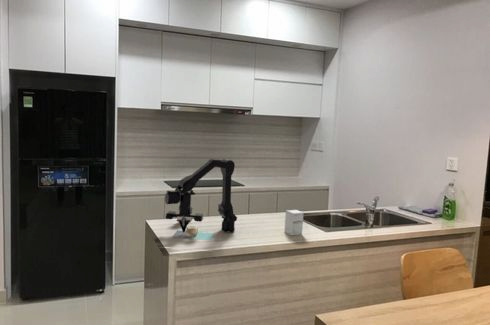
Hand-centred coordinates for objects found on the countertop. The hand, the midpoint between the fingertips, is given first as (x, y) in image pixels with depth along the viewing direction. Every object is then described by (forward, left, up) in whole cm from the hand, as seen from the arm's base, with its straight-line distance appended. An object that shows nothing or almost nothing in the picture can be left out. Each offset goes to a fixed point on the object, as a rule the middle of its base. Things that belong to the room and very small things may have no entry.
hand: (183, 232), depth 203 cm
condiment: (+4, -21, -2) cm, 21 cm away
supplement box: (-58, -17, -2) cm, 61 cm away
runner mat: (-5, 0, -2) cm, 5 cm away
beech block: (-4, 0, -1) cm, 4 cm away
